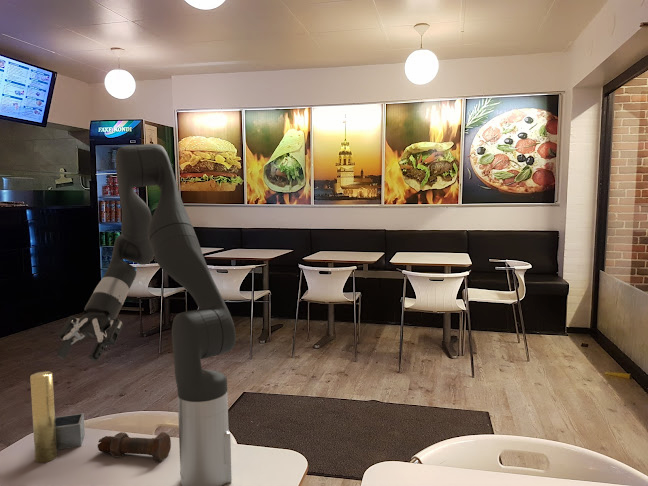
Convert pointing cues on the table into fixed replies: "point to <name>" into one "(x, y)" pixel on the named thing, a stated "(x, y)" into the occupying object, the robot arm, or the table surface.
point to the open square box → (69, 431)
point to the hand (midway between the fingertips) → (76, 358)
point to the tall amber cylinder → (43, 416)
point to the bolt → (136, 445)
